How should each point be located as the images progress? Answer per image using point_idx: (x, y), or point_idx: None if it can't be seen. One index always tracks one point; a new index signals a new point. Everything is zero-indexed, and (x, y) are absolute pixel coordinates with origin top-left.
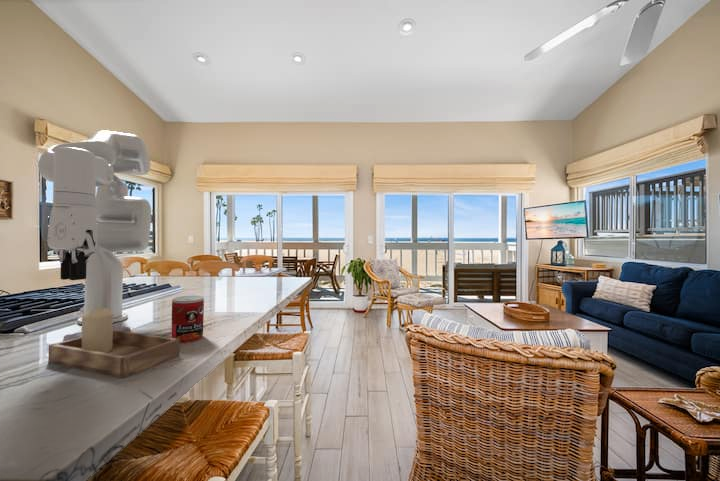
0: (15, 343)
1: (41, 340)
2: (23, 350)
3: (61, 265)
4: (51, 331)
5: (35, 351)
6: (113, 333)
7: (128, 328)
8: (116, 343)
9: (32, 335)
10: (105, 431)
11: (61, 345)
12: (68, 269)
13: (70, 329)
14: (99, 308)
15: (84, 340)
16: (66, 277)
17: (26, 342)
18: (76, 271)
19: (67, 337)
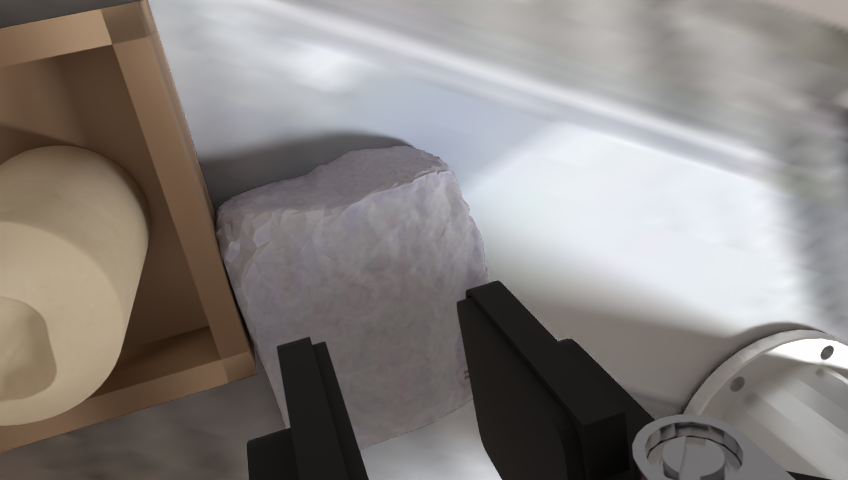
0: (709, 23)
1: (653, 122)
2: (535, 3)
3: (575, 387)
4: (782, 205)
5: (459, 34)
6: (191, 360)
7: None
8: (165, 339)
9: (788, 124)
10: None
11: (50, 49)
12: (519, 429)
13: (738, 276)
14: (46, 372)
15: (6, 170)
16: (465, 340)
17: (680, 63)
18: (258, 476)
19: (396, 174)
